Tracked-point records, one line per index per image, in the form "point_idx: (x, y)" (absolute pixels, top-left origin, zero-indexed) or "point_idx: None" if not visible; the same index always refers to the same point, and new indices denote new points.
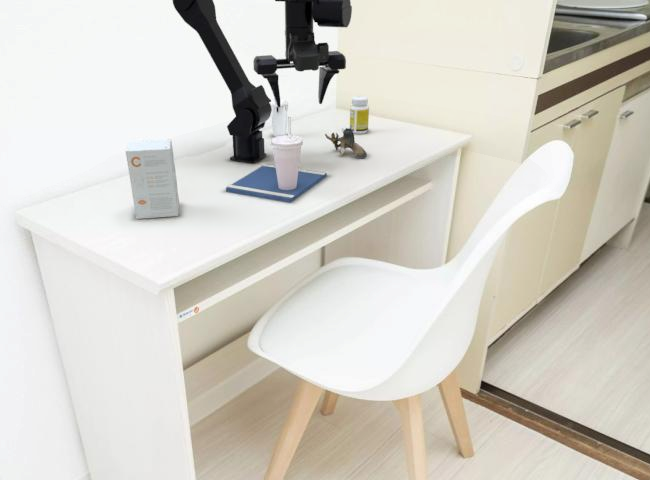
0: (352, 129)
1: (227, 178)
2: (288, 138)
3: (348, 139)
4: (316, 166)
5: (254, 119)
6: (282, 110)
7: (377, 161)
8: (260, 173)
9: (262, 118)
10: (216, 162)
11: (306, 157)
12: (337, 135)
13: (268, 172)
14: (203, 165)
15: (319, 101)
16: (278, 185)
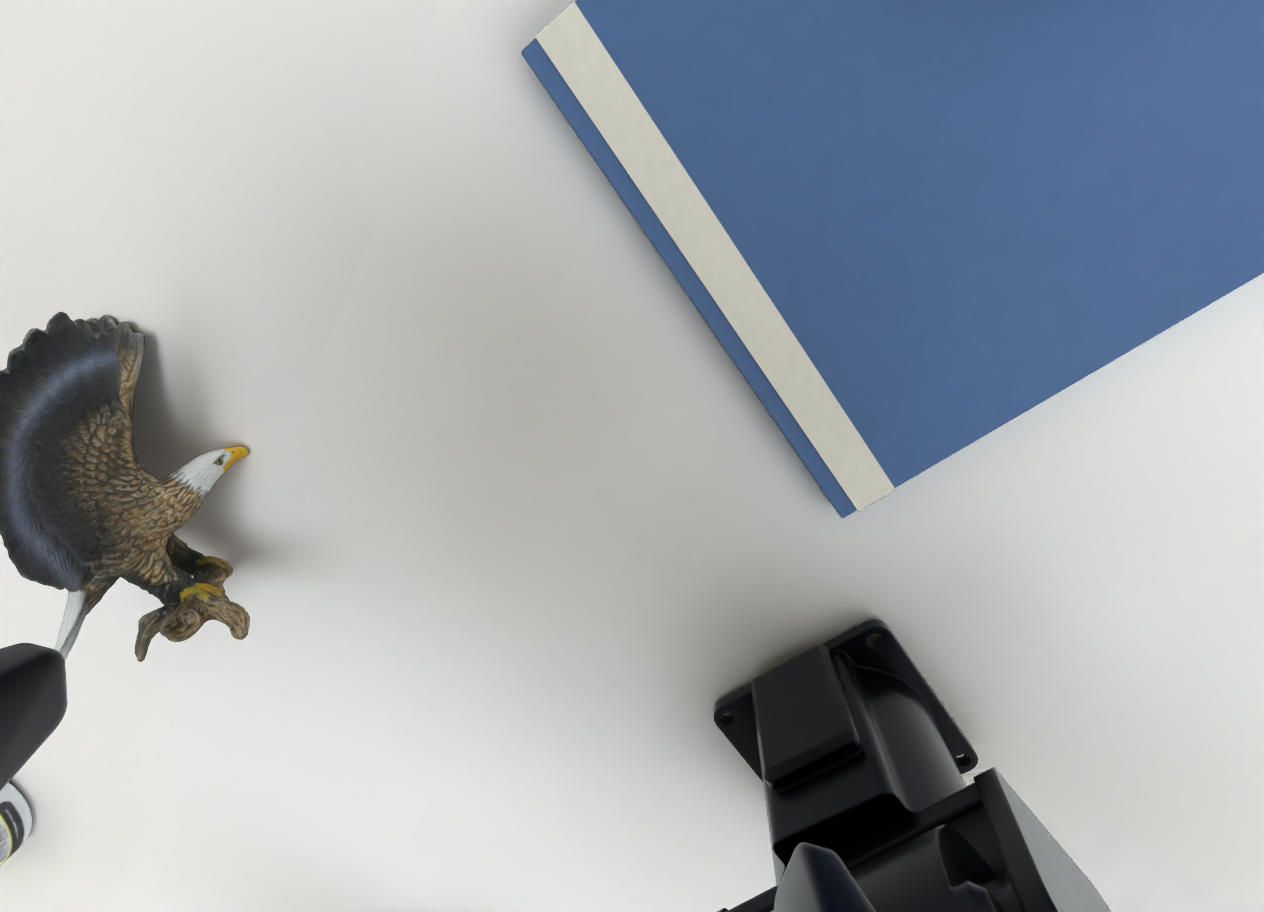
0: (4, 815)
1: (1228, 433)
2: None
3: (91, 487)
4: (497, 337)
5: (998, 899)
6: None
7: (21, 200)
8: (1014, 331)
9: (871, 898)
10: (1071, 761)
11: (478, 550)
12: (146, 626)
13: (945, 319)
14: (1182, 753)
15: (31, 701)
16: None
